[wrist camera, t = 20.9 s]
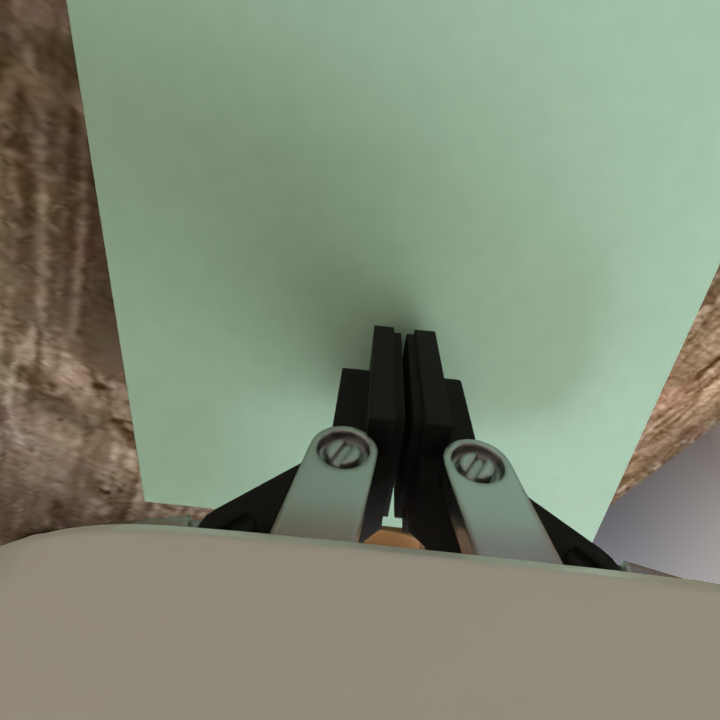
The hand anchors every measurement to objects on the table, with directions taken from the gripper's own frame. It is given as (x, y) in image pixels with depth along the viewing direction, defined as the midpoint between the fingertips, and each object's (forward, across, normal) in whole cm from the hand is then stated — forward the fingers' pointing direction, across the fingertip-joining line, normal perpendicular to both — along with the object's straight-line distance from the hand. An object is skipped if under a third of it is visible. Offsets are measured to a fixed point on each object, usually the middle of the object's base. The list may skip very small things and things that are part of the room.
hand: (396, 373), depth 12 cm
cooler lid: (+1, 0, -3) cm, 3 cm away
